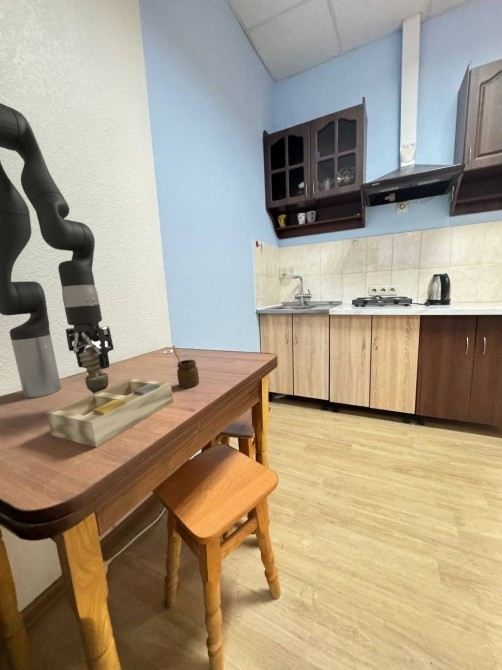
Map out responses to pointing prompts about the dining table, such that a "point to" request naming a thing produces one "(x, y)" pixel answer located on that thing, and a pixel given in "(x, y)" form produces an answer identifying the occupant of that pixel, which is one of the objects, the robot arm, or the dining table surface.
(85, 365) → the light bulb
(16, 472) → the dining table surface
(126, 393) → the socket block
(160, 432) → the dining table surface
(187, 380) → the utensil holder
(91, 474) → the dining table surface
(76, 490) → the dining table surface
